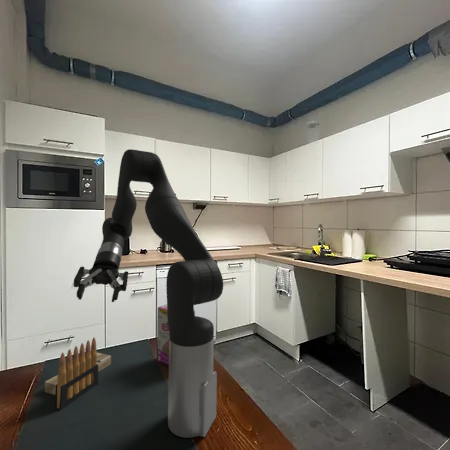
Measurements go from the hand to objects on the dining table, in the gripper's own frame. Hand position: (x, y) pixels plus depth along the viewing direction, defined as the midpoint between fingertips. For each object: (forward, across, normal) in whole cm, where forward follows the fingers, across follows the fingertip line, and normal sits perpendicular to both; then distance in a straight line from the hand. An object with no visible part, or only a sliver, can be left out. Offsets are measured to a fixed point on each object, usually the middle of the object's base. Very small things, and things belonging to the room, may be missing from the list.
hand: (96, 299), depth 71 cm
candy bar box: (+12, +24, +13) cm, 30 cm away
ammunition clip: (+20, +1, +11) cm, 23 cm away
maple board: (+13, 0, +16) cm, 21 cm away
